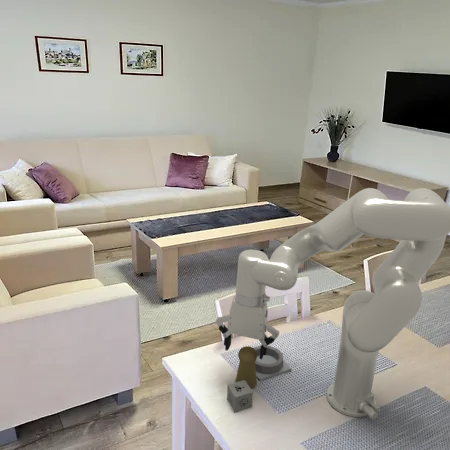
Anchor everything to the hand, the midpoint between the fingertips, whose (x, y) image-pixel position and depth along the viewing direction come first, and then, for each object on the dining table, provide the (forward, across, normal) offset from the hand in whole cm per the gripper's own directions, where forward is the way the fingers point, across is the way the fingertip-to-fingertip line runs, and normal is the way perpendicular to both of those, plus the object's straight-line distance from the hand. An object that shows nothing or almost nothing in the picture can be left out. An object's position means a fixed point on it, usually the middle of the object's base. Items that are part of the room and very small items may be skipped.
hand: (244, 351), depth 116 cm
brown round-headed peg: (+10, -1, 0) cm, 10 cm away
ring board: (+10, -5, -9) cm, 14 cm away
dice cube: (+10, -2, +8) cm, 13 cm away
